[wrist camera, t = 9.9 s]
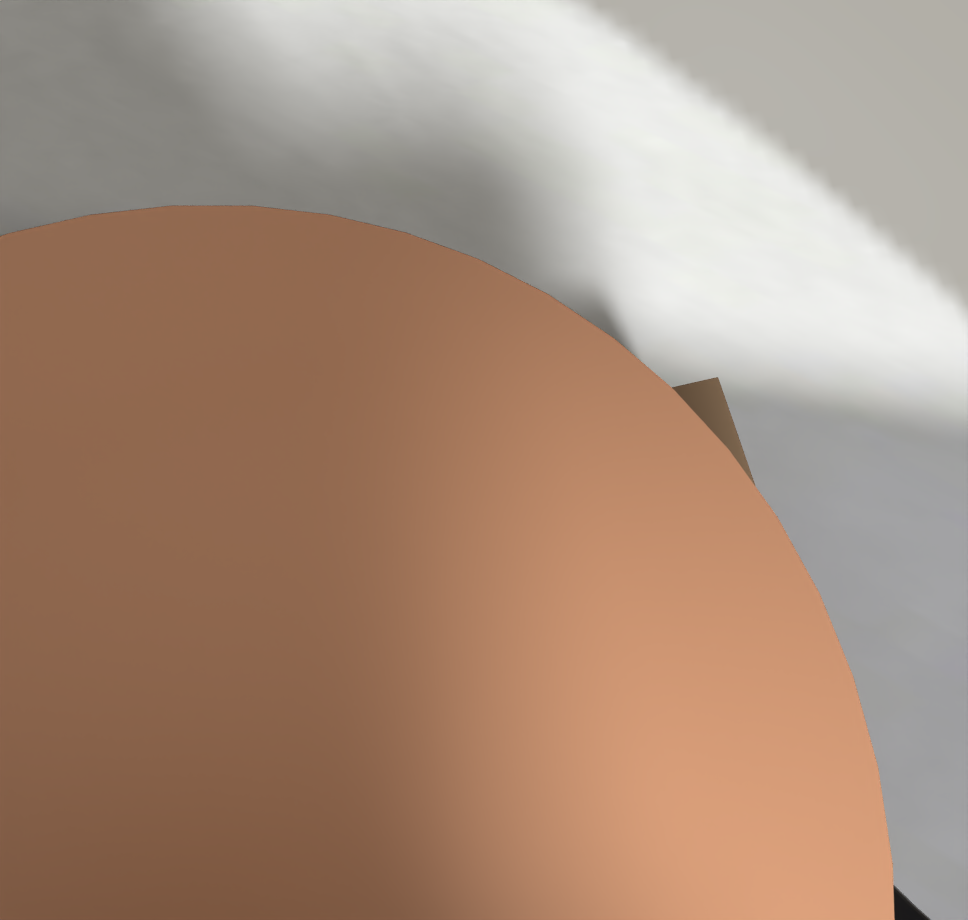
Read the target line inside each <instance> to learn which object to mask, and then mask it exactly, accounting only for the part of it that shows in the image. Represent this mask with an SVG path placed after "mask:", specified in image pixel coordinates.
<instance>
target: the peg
mask: <svg viewBox="0 0 968 920" xmlns="http://www.w3.org/2000/svg"><path fill="white" fill-rule="evenodd" d="M0 920H895V919H894V890H893V863H892V856H891V850H890V843H889V837H888V830H887V823H886V817H885V810H884V804H883V797H882V790H881V784H880V777H879V771H878V765H877V762H876V758H875V754H874V751H873V747H872V743H871V740H870V736H869V732H868V729H867V725H866V722H865V718H864V714H863V711H862V707H861V703H860V700H859V696H858V692H857V689H856V685H855V681H854V678H853V675H852V672H851V670H850V668H849V665H848V663H847V660H846V658H845V655H844V653H843V650H842V648H841V645H840V643H839V640H838V638H837V635H836V633H835V630H834V628H833V626H832V623H831V621H830V618H829V616H828V613H827V611H826V608H825V606H824V603H823V601H822V598H821V596H820V593H819V592H818V590H817V588H816V586H815V584H814V583H813V581H812V579H811V577H810V575H809V573H808V572H807V570H806V568H805V566H804V564H803V563H802V561H801V559H800V557H799V555H798V554H797V552H796V550H795V548H794V546H793V544H792V543H791V541H790V539H789V537H788V535H787V534H786V532H785V530H784V528H783V526H782V524H781V523H780V521H779V519H778V517H777V516H776V515H775V513H774V512H773V510H772V509H771V508H770V506H769V505H768V503H767V502H766V501H765V499H764V498H763V496H762V495H761V494H760V492H759V491H758V489H757V488H756V487H755V485H754V484H753V482H752V481H751V480H750V478H749V477H748V475H747V474H746V473H745V471H744V470H743V469H742V467H741V466H740V464H739V463H738V462H737V460H736V459H735V457H734V456H733V455H732V453H731V452H730V450H729V449H728V448H727V447H726V446H725V445H724V444H723V443H722V442H721V440H720V439H719V438H718V437H717V436H716V435H715V434H714V433H713V432H712V431H711V430H710V428H709V427H708V426H707V425H706V424H705V423H704V422H703V421H702V420H701V419H700V418H699V416H698V415H697V414H696V413H695V412H694V411H693V410H692V409H691V408H690V407H689V406H688V404H687V403H686V402H685V401H684V400H683V399H682V398H681V397H680V396H679V395H678V394H677V392H676V391H675V390H674V389H673V388H671V387H670V386H669V385H668V384H667V383H666V382H664V381H663V380H662V379H661V378H660V377H659V376H657V375H656V374H655V373H654V372H653V371H652V370H650V369H649V368H648V367H647V366H646V365H645V364H643V363H642V362H641V361H640V360H639V359H638V358H636V357H635V356H634V355H633V354H632V353H631V352H629V351H628V350H627V349H626V348H625V347H624V346H622V345H621V344H620V343H619V342H618V341H617V340H615V339H614V338H613V337H611V336H610V335H608V334H607V333H605V332H604V331H602V330H601V329H599V328H598V327H596V326H595V325H593V324H592V323H590V322H589V321H587V320H586V319H584V318H583V317H581V316H580V315H578V314H577V313H575V312H574V311H572V310H571V309H569V308H568V307H566V306H565V305H563V304H562V303H560V302H559V301H557V300H556V299H554V298H553V297H551V296H550V295H548V294H547V293H545V292H543V291H541V290H539V289H537V288H535V287H533V286H531V285H529V284H527V283H525V282H523V281H521V280H519V279H517V278H515V277H513V276H511V275H509V274H507V273H505V272H503V271H501V270H499V269H497V268H495V267H493V266H491V265H489V264H487V263H485V262H483V261H481V260H479V259H477V258H474V257H471V256H469V255H466V254H463V253H460V252H458V251H455V250H452V249H449V248H447V247H444V246H441V245H438V244H436V243H433V242H430V241H427V240H425V239H422V238H419V237H416V236H414V235H411V234H408V233H405V232H401V231H397V230H393V229H388V228H384V227H380V226H376V225H371V224H367V223H363V222H359V221H354V220H350V219H346V218H342V217H337V216H333V215H328V214H319V213H310V212H302V211H293V210H284V209H276V208H267V207H258V206H164V207H155V208H147V209H138V210H129V211H120V212H111V213H102V214H93V215H88V216H83V217H79V218H74V219H70V220H65V221H61V222H56V223H52V224H48V225H43V226H39V227H34V228H30V229H25V230H21V231H17V232H12V233H8V234H5V235H2V236H0Z"/></svg>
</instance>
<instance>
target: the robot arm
mask: <svg viewBox="0 0 968 920" xmlns="http://www.w3.org/2000/svg"><path fill="white" fill-rule="evenodd" d="M893 890H894V919H895V920H931V919H929V918H928V917H927V916H926V915H925V914H924V913H923V912H922V911H920V910H919V909H918V908H917V907H916V906H915V905H914V904H913V903H912V902H911V901H910V900H909V899H908V898H907V897H906V896H905V895H904V894H902V893H901V892H900V891H899V890H898V889H897V888H896V887H895V886H894V885H893Z"/></svg>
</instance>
